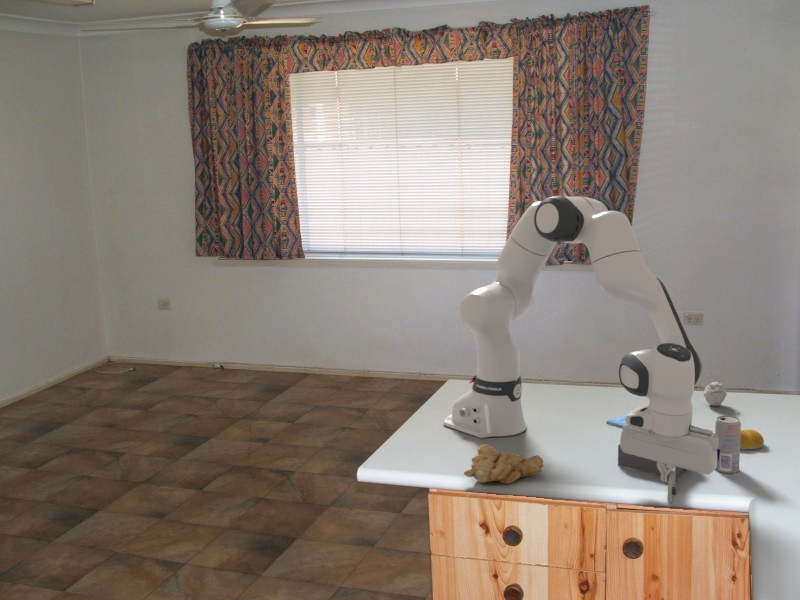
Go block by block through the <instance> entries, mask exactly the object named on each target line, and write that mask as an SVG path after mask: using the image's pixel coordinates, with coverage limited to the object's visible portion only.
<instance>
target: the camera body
mask: <svg viewBox="0 0 800 600" xmlns="http://www.w3.org/2000/svg"><path fill="white" fill-rule="evenodd" d="M617 456H618V457H617V466H619V467H623V468H627V469H632V470H637V471H641V472H643V473H648V474H652V475H653V474H654V475H658V476H660V474H661V473H660V471H659V469H658V467H657V461H654V460H650V459H646V458H643V457H639V456H635V455H631V454H627V453H624V452H623V451H622V450H621V448H620V443H618V445H617ZM665 467H666V464H665ZM666 469H667V470H668V469H669V468H666ZM687 471H689V470H688V469H684V468H680V467H677V479H679V478H680V477H681V476H682V475H684V473H685V472H687Z"/></svg>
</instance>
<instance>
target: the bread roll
mask: <svg viewBox="0 0 800 600" xmlns="http://www.w3.org/2000/svg"><path fill="white" fill-rule="evenodd" d="M764 442H765V440H764V437H763V435H762V433H760V432H759V431H757V430H755V429H741V435H740V451H746V450H747V451H748V449H749V450H760V449H761V448H762V447H763V446H764ZM759 448H760V449H759Z"/></svg>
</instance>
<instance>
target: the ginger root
mask: <svg viewBox="0 0 800 600" xmlns="http://www.w3.org/2000/svg"><path fill="white" fill-rule="evenodd" d="M477 454H478V455H476V454H475V456H474V457H471V461H472V464H471V469H467V470H466V471H464V472H463V475H464V476H466V477H470V478H474V479H475V480H476V481H477V482H478V483H480V484H485V483H486V484H487V483H488V482H500V483H501V484H505V485H508V484H511V483H514V482H515V481H517V480H519V478H524V477H525V478H526V477H531V476H533V475H536V474H539V473H541V472H542V471H543V467H544V459H543V458H542V456H540V455H539V454H537V455H533V456H530V457H528V458H527V459H526V457H525V456H524V455H522V454H521V455H518V454H516V453H513V452H510V453H505V454H503V453H502V451H499V450H496V449H495V448H494V447H493V446H492V445H489V444H485V443H481V444H480V445H479V448H478V449H477Z"/></svg>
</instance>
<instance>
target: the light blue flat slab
mask: <svg viewBox="0 0 800 600" xmlns="http://www.w3.org/2000/svg"><path fill="white" fill-rule="evenodd" d="M630 412H631V411H628V412H626V413H623V414H621V415H619V416H616V417H613V418H611V419H608V420H606V424H608V425H611V426H615V427H618V428H620V429H623V427H624V426H625V425H626V424H627V423H626V421H625V418H626V416H627V415H628V414H629V413H630Z"/></svg>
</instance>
